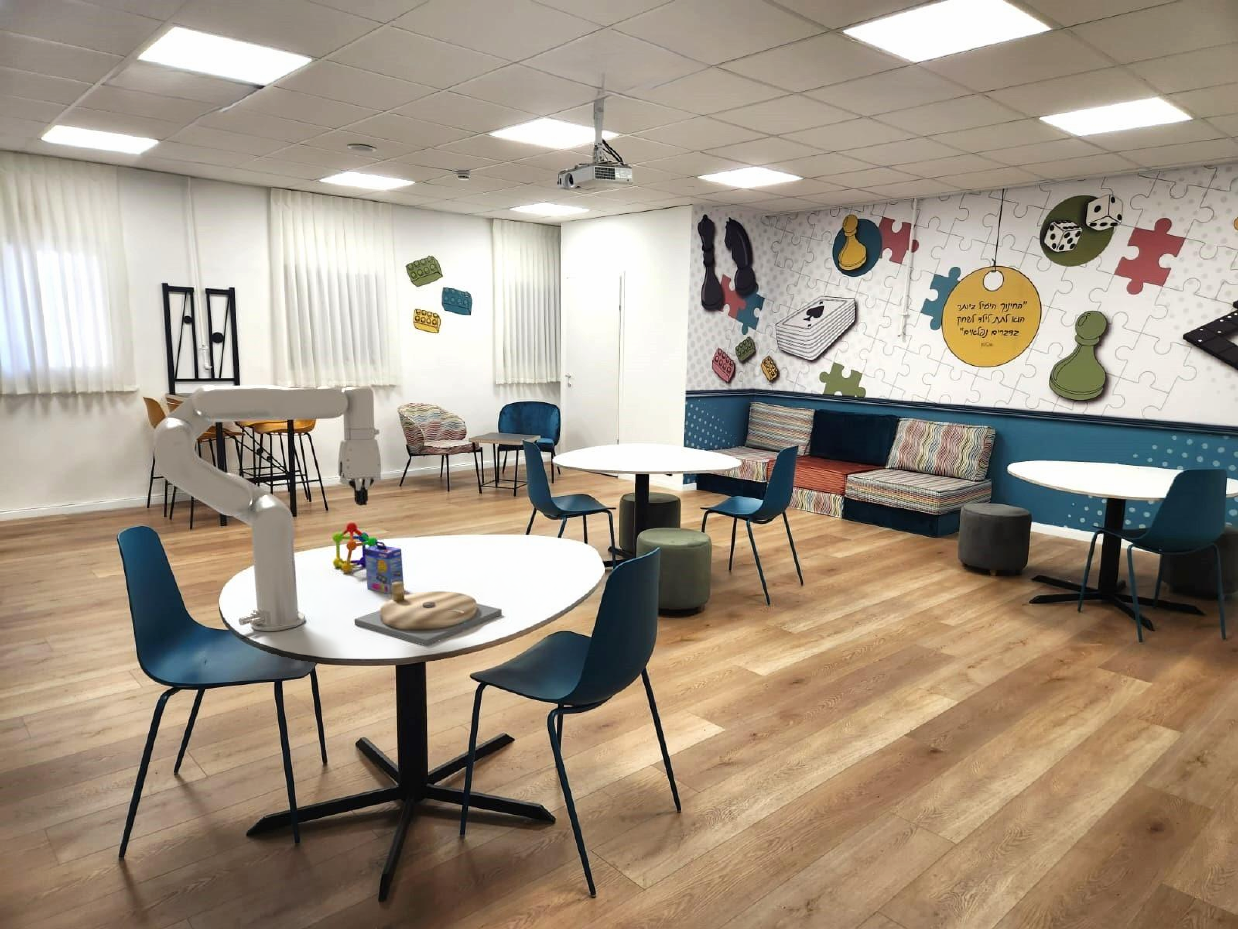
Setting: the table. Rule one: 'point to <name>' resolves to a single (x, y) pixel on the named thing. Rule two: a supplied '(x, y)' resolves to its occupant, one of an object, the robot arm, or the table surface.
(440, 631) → the base plate
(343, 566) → the educational toy
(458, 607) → the turntable
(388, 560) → the ink cartridge box
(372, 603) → the table surface
